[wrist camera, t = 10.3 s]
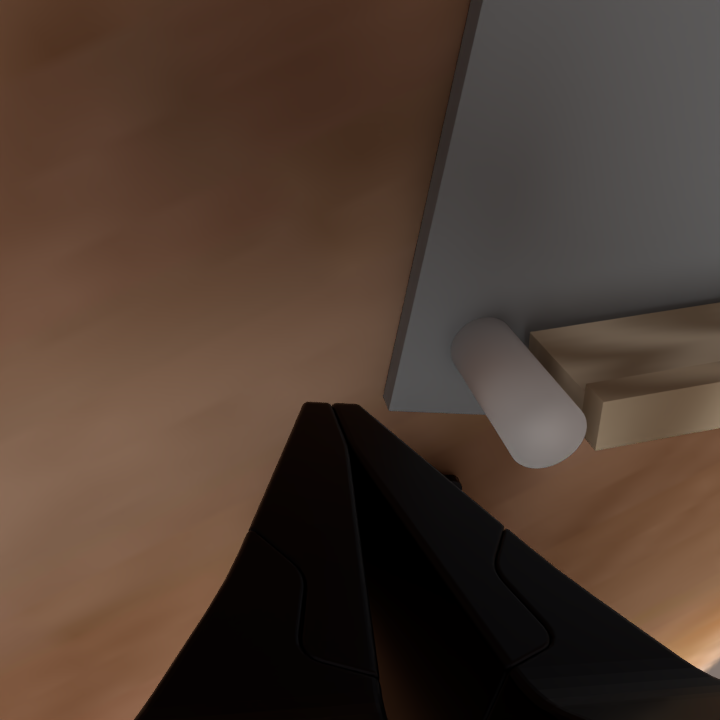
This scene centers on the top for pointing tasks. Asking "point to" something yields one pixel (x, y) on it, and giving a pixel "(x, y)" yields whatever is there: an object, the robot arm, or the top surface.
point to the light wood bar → (639, 373)
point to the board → (560, 203)
